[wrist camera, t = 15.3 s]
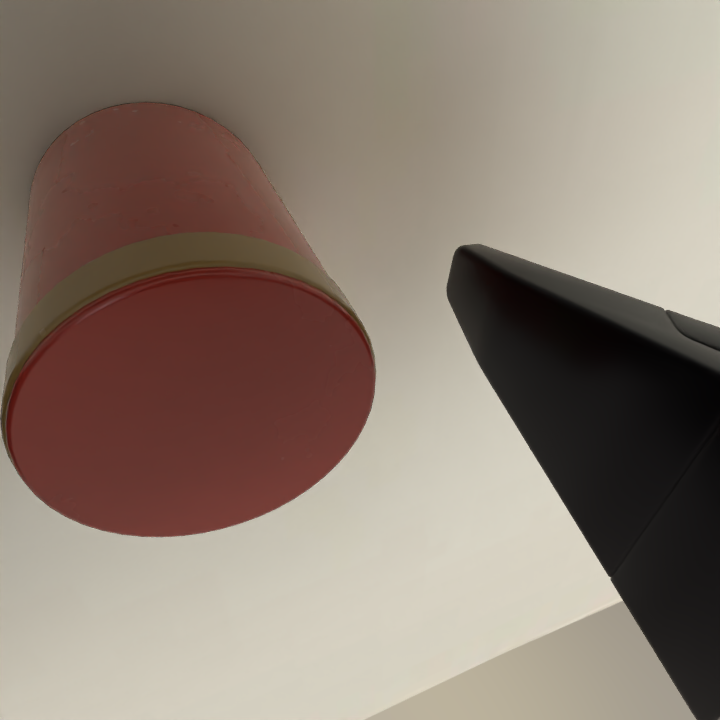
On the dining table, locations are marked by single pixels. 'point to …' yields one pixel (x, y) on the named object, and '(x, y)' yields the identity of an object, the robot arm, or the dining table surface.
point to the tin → (174, 333)
